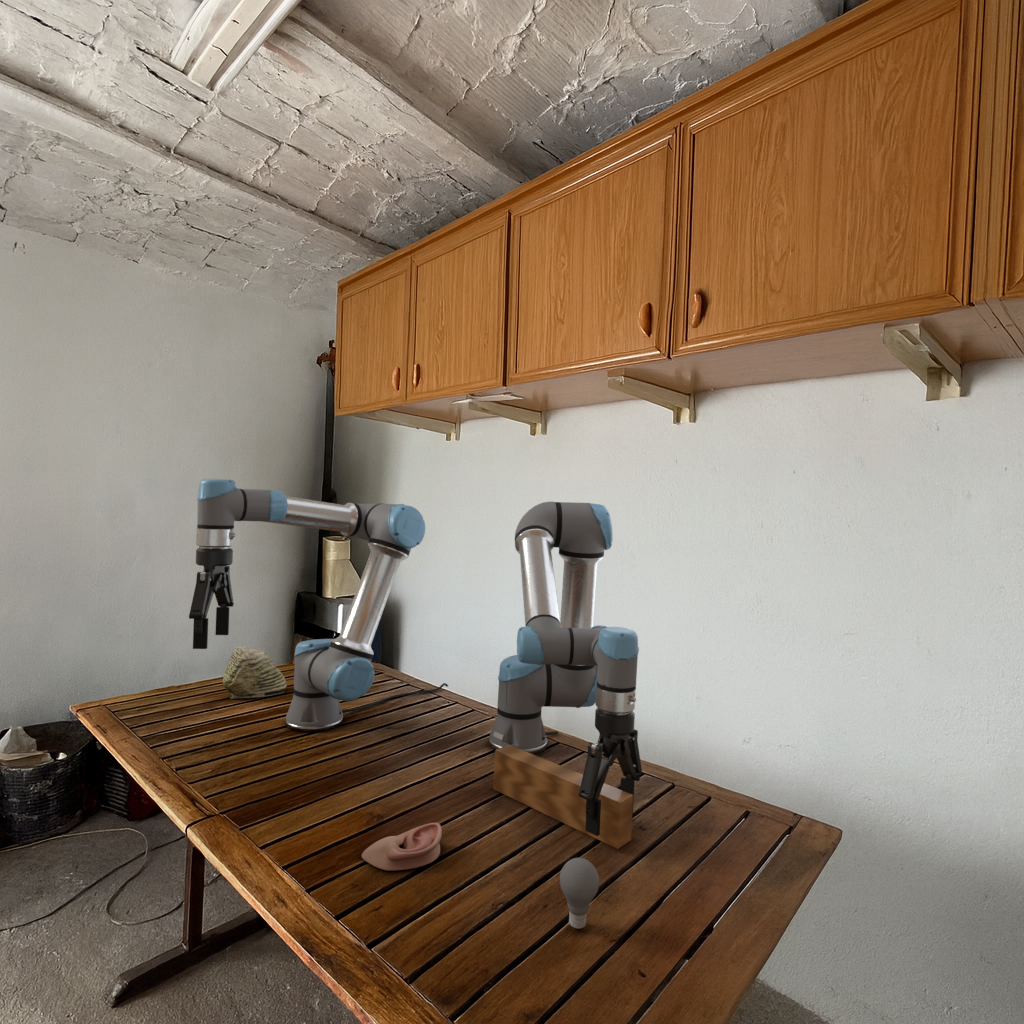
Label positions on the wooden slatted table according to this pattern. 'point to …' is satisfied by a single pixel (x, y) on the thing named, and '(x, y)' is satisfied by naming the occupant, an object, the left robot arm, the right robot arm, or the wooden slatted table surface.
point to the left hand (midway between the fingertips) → (211, 641)
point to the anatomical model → (406, 849)
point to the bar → (561, 794)
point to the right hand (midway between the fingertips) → (609, 822)
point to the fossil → (252, 674)
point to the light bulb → (579, 888)
